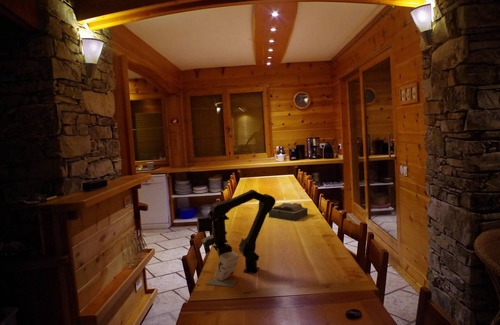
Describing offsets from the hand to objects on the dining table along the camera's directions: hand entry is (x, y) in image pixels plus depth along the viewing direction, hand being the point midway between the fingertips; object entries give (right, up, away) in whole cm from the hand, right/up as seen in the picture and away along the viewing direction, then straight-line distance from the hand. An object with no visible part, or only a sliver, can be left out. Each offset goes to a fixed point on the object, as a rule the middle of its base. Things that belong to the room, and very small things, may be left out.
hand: (221, 261), depth 165 cm
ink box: (+1, -7, -1) cm, 7 cm away
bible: (+43, +5, +102) cm, 111 cm away
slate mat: (+1, -8, -6) cm, 10 cm away
